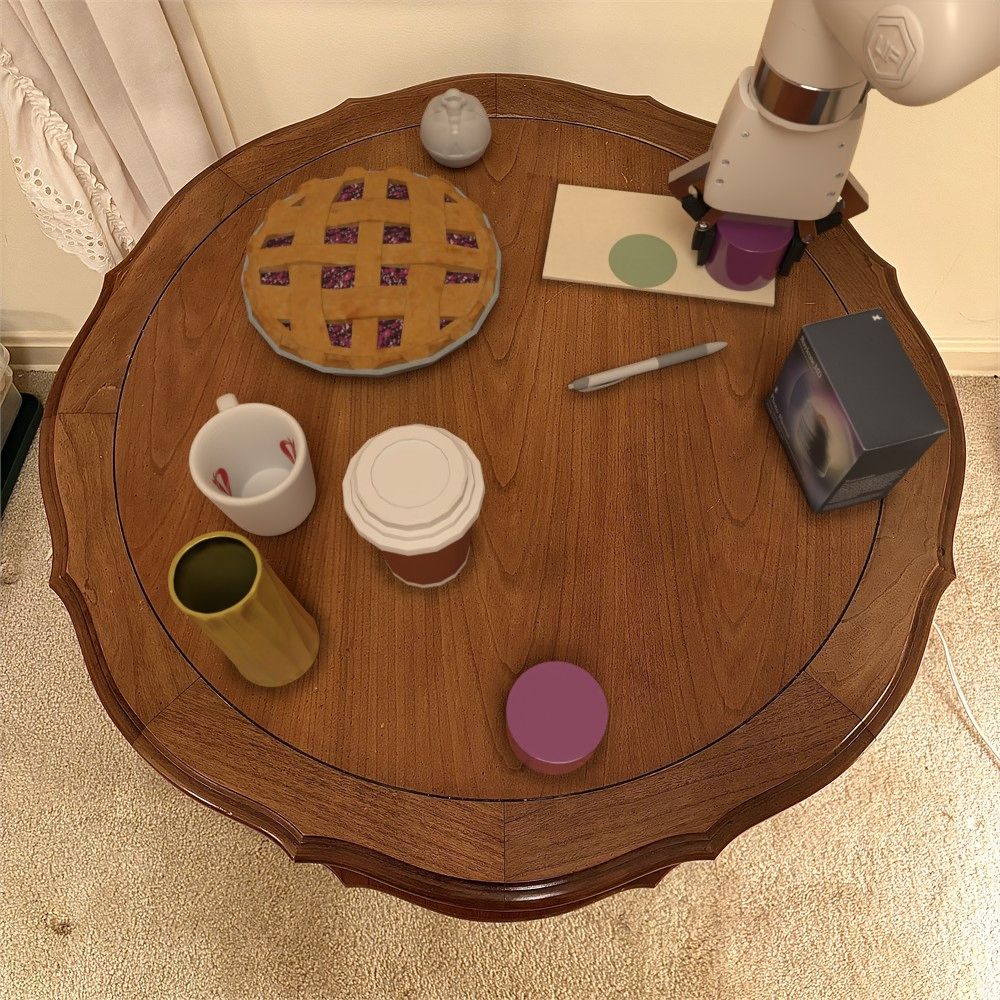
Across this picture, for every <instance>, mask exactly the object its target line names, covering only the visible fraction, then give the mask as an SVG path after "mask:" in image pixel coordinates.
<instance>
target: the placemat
mask: <svg viewBox="0 0 1000 1000" xmlns="http://www.w3.org/2000/svg"><path fill="white" fill-rule="evenodd" d="M695 227H696V222H695V221H694V220H693V219H692V218H691V217H690V216H689V215H688V213H687V212H686V211H685V210H684V209H683V208H682V203H681V202H680V201H679V200H677V199H676V198H675V197H674V196H669V195H661V194H653V193H643V192H635V191H625V190H618V189H617V190H616V189H607V188H600V187H589V186H583V185H574V184H564V183H558V185H557V189H556V196H555V201H554V206H553V213H552V219H551V224H550V229H549V236H548V241H547V247H546V252H545V257H544V264H543V268H542V269H543V270H542V275H541V279H542V280H543V279H544V280H551V281H559V282H569V283H575V284H583V285H592V286H600V287H609V288H617V289H626V290H634V291H641V292H651V293H659V294H666V295H675V296H682V297H689V298H690V297H692V298H699V299H707V300H714V301H715V300H717V301H723V302H732V303H741V304H749V305H756V306H765V307H772V308H773V307H774V306H775V298H776V297H775V296H776V295H775V292H776V291H775V290H776V289H775V288H776V277H775V278H774V279H773V280H772V281H771V282H770V283H769V284H768V285H766V286H765V287H763V288H760V289H757V290H753V291H738V290H733V289H730V288H727V287H725V286H723V285H721V284H719V283H718V282H717V281H715V280H714V279H713V278H712V277H711V276H710V274H709V273H708V271H707V269H706V266H705V265H703V266H698V265H697V256H698V251H697V250H691V246H692V238H693V234H694V230H695Z"/></svg>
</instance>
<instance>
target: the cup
mask: <svg viewBox="0 0 1000 1000" xmlns="http://www.w3.org/2000/svg"><path fill="white" fill-rule="evenodd" d="M215 403H216V407H217V409H218V413H217V414H215V415H213V416H212V417H211V418H210V419H208V420H207V421H206V422H205V423H204V424H203V425H202V427H201V428H200V429H199V430H198V432H197V433H196V435H195V437H194V439H193V440H192V443H191V446H190V450H189V457H188V467H189V471H190V475H191V477H192V480H193V483H194V484H195V486H196V487H197V488H198V490H199V491H200V492H201V493H202V494H203V495H204V496H205V497H206V498H208V499H209V500H210V501H211V502H212V503H213V504H214V505H215V506H216V507H217V508H218V509H219V510H220V511H222V513H224V514H225V515H226V516H227V518H229V519H230V520H231V521H232V522H233V523H234V524H235V525H236V526H238V527H239V528H241V529H242V530H243V531H246V532H248V533H250V534H253V535H257V536H261V537H274V536H280V535H283V534H286V533H289V532H291V531H293V530H294V529H296V528H297V527H299V526H300V525H301V524H302V523H303V522H304V521H305V520H306V519H307V518H308V517H309V515H310V513H311V512H312V509H313V507H314V505H315V501H316V497H317V496H316V495H317V494H316V493H317V483H316V477H315V475H314V471H313V464H312V461H311V460H312V459H311V455H310V451H309V447H308V442H307V438H306V434H305V432H304V430H303V428H302V427H301V425H300V423H299V422H298V421H297V420H296V418H294V416H292V415H291V414H290V413H288V412H287V411H286V410H284V409H282V408H280V407H278V406H276V405H272V404H269V403H263V402H262V403H261V402H248V403H247V402H246V403H241V404H240V402H239V400H238V398H237V397H236V395H235V394H234V393H229V392H228V393H226V394H222V395H221V396H219V397H217V399H216V402H215Z"/></svg>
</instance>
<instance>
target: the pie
mask: <svg viewBox="0 0 1000 1000" xmlns="http://www.w3.org/2000/svg"><path fill="white" fill-rule="evenodd" d="M245 250H246V255H245V258H244V264H243V267H242V270H241V276H240V283H241V288H242V293H243V298H244V302H245V308H246V312H247V318H248V321H249V323H251V324H252V325H253V327H254V328H255V329H256V331H258V333H259V334H260V335H261V336H262V337H263V339H264V340H265V341H266V343H268V345H269V346H270V347H271V348H272V349H273V351H274V352H275V354H278V355H280V356H282V357H284V358H287V359H290V360H291V361H295V362H297V363H300V364H302V365H304V366H307V367H309V368H311V369H314V370H316V371H319V372H321V373H326V374H327V373H328V374H331V375H334V376H338V377H339V376H340V377H359V378H360V377H361V378H379V379H380V378H381V379H383V378H388V377H391V376H396V375H399V374H404V373H407V372H412V371H415V370H419V369H423V368H425V367H430V366H431V365H433V364H435V363H436V362H438V361H440V360H441V359H443V358H445V357H447V356H448V355H450V354H451V353H453V352H454V351H456V350H458V349H459V348H462V347H463V345H464V344H465V342H466V341H467V340H470V339H471V338H472V337H473V336H475V335H477V333H478V331H479V330H480V328H481V326H482V325H483V324H484V321H485V320H486V318H487V316H488V315H489V313H490V312H491V310H492V308H493V306H494V305H495V303H496V301H497V299H498V297H499V296H500V286H501V285H500V284H501V271H502V270H501V269H502V254H503V253H502V251H501V248H500V246H499V244H498V241H497V238H496V236H495V234H494V231H493V228H492V225H491V223H490V221H489V218H488V216H487V215H486V213H484V212H483V211H482V208H481V206H480V205H479V204H477V203H476V202H474V201H473V200H472V199H471V198H470V197H467V196H466V195H465V194H464V193H463V192H462V191H461V190H460V189H459V188H458V187H457V186H454V185H453V183H452V182H451V181H450V180H448V179H445V178H443V177H442V176H440V175H438V174H436V173H434V174H432V175H430V176H429V177H428V176H426V175H422V174H419V173H416V172H413V171H412V170H411V169H409V168H408V167H407V166H405V165H404V166H403V165H390V166H389V167H388V168H386V169H385V170H384V171H383V170H381V171H380V170H366V168H364V167H362V166H361V165H357V166H347V167H346V169H345V170H344V172H343V173H342V175H339V176H335V177H331V178H326V179H322V178H318V177H316V176H315V177H313V178H311V179H308V180H307V181H305V182H302V183H301V184H299V185H298V186H297V189H296V192H295V193H293V194H291V195H290V196H288V197H286V198H284V199H278V198H277V199H275V200H274V202H273V203H272V204H271V205H270V206H269V207H268V208H267V209H266V210H265V213H264V218H263V221H262V222H261V223H260V225H259V226H258V227H257V229H256V230H255V231H254V232H253V233H252V234H251V235H250V237H249V240H248V241H247V243H246V246H245Z"/></svg>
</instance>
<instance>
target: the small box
mask: <svg viewBox="0 0 1000 1000" xmlns="http://www.w3.org/2000/svg"><path fill="white" fill-rule="evenodd" d="M763 403H764V406H765V409H766V411H767V413H768V415H769V416H770V420H771V422H772V424H773V427H774V428H775V430H776V433H777V435H778V438H779V439H780V442H781V444H782V446H783V449H784V450H785V453H786V455H787V457H788V459H789V460H788V461H789V462H790V464H791V466H792V468H793V471H794V473H795V475H796V477H797V479H798V481H799V484H800V487H801V488H802V490H803V493H804V495H805V497H806V499H807V502H808V504H809V506H810V509H811V511H812V513H813V514H814V515H818V514H819V515H820V514H824V513H828V512H832V511H836V510H841V509H844V508H849V507H853V506H857V505H861V504H866V503H870V502H873V501H878V500H882V499H885V498H887V496H889V494H890V493H891V491H892V490H894V488H895V487H896V486H897V484H899V483H900V481H902V479H903V478H904V477H905V476H906V475H907V473H908V472H909V471H911V469H912V468H913V467H914V466H915V465H916V464H917V463H918V461H920V460H921V459H922V457H923V456H924V455H925V454H926V452H928V451H929V450H930V448H931V447H932V446H933V445H934V444H935V443H936V442H937V441H938V440H940V438H941V437H943V436H944V435H945V434H946V433H947V432H948V431H949V427H948V425H947V423H946V421H945V419H944V418H943V416H942V414H941V412H940V410H939V408H938V407H937V405H936V404H935V402H934V399H933V398H932V396H931V395H930V392H929V391H928V389H927V387H926V385H925V384H924V382H923V380H922V378H921V376H920V374H919V373H918V371H917V369H916V368H915V366H914V364H913V362H912V360H911V358H910V357H909V355H908V353H907V352H906V349H905V348H904V346H903V344H902V342H901V341H900V339H899V337H898V335H897V334H896V332H895V330H894V328H893V326H892V324H891V323H890V321H889V319H888V317H887V315H886V313H885V312H884V310H883V308H881V307H873V308H871V309H866V310H862V311H859V312H853V313H849V314H845V315H841V316H835V317H832V318H828V319H823V320H818V321H814V322H811V323H807V324H806V323H805V324H803V325H802V326H801V327H800V331H799V333H798V335H797V337H796V339H795V340H794V343H793V345H792V347H791V349H790V351H789V353H788V355H787V357H786V358H785V361H784V363H783V365H782V367H781V369H780V371H779V373H778V375H777V377H776V379H775V381H774V382H773V384H772V386H771V388H770V391H769V392H768V394H767V396H766V399H765V400H764V402H763Z"/></svg>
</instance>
